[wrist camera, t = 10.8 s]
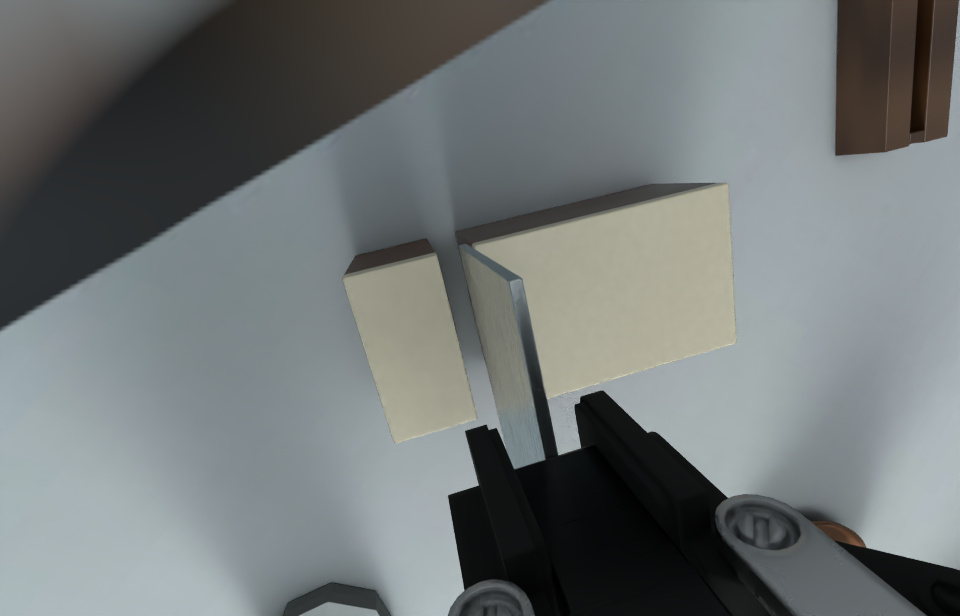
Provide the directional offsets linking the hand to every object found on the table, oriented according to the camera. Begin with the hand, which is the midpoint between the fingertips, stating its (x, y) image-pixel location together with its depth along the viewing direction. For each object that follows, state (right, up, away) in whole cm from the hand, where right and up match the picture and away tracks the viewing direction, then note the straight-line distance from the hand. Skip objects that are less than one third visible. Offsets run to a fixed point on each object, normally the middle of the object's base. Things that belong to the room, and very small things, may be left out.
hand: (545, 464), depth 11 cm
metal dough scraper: (-1, +1, +6) cm, 7 cm away
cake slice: (-6, +3, +15) cm, 16 cm away
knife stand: (+21, +19, +16) cm, 33 cm away
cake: (+4, +6, +16) cm, 17 cm away
